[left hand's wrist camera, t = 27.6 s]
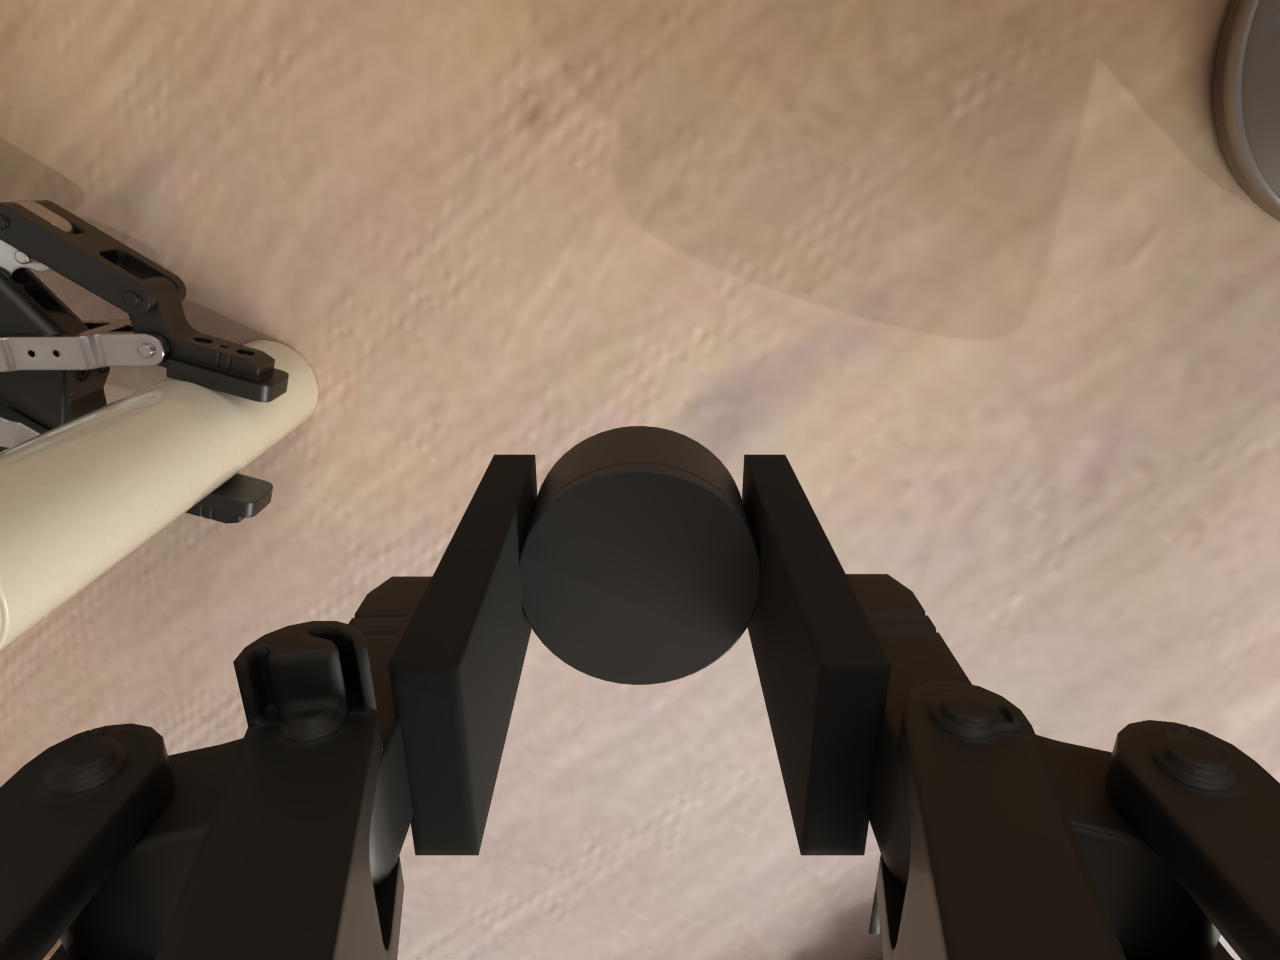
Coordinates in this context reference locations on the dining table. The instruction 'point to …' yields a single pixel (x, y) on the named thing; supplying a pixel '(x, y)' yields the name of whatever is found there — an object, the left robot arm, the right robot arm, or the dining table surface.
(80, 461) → the bottle
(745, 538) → the cap
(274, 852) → the left robot arm
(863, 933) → the dining table surface
